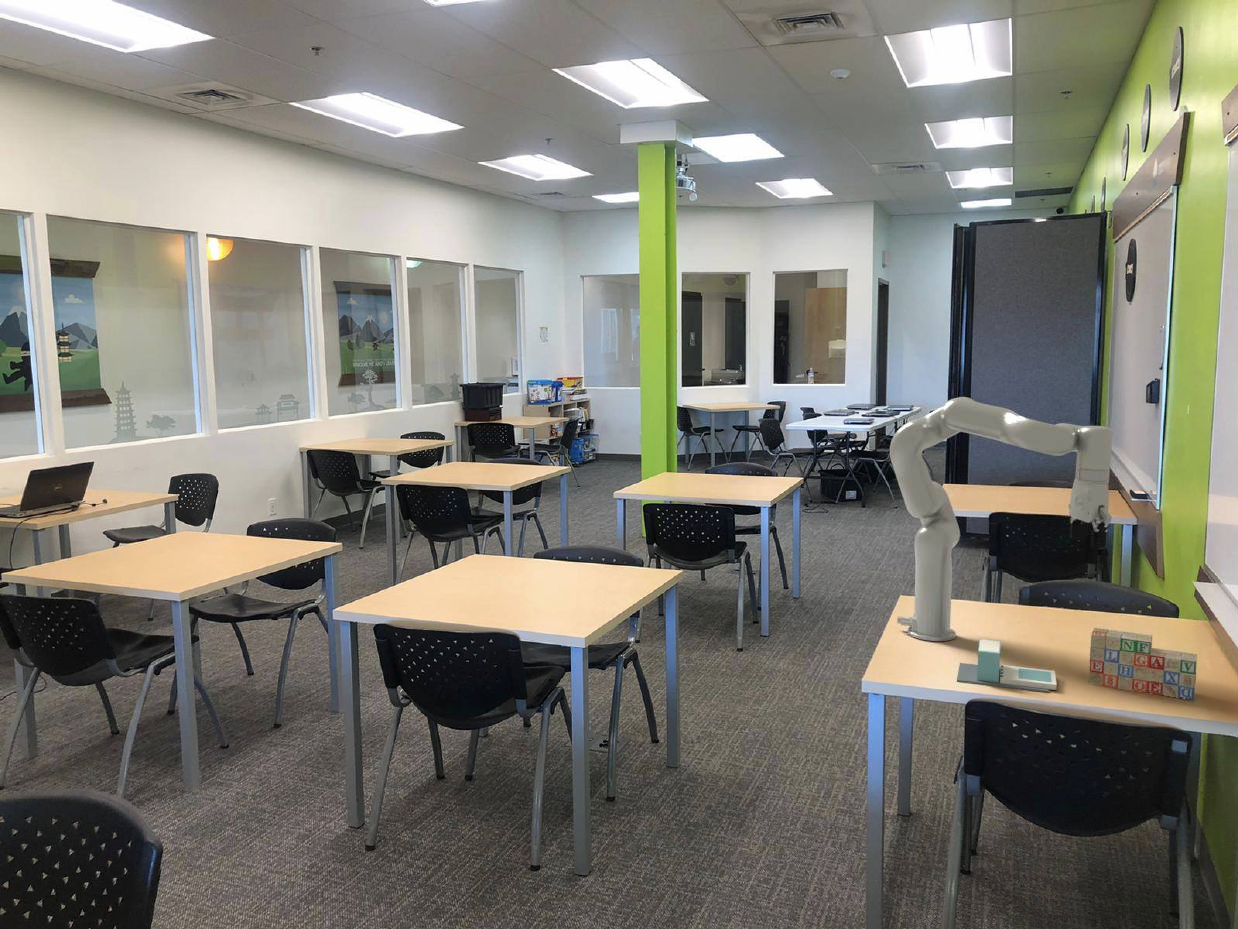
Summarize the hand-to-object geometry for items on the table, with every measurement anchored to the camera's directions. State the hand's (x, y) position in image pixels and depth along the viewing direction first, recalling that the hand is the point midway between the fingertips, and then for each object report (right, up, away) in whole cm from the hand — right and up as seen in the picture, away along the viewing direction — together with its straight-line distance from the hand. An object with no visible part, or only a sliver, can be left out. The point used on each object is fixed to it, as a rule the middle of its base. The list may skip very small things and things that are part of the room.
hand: (1087, 542), depth 234 cm
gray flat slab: (-25, -32, -11) cm, 42 cm away
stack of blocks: (+4, -33, -18) cm, 37 cm away
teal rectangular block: (-29, -31, -10) cm, 44 cm away
